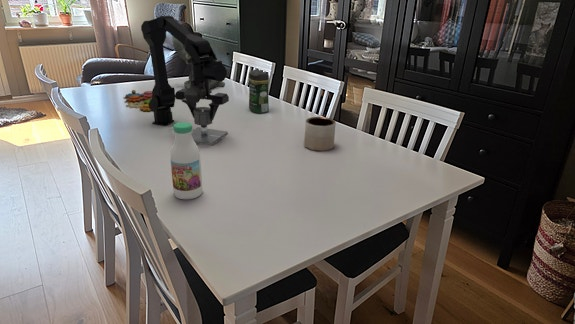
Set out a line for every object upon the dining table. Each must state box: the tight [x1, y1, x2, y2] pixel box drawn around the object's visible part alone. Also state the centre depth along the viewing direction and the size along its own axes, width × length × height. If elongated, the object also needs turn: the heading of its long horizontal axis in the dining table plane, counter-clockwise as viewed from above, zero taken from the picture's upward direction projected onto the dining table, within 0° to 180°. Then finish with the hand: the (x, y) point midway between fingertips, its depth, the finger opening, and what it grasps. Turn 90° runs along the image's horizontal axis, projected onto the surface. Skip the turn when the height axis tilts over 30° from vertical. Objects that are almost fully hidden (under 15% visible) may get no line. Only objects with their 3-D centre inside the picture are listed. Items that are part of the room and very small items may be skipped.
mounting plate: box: [192, 125, 229, 146], centre depth 144 cm, size 13×13×5 cm
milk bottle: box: [169, 121, 203, 200], centre depth 102 cm, size 8×8×20 cm
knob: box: [193, 106, 213, 126], centre depth 142 cm, size 7×7×5 cm
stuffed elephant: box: [172, 37, 226, 89], centre depth 208 cm, size 19×21×27 cm
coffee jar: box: [248, 69, 270, 114], centre depth 174 cm, size 10×8×19 cm
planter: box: [303, 116, 337, 152], centre depth 139 cm, size 11×11×10 cm
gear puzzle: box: [123, 89, 152, 112], centre depth 183 cm, size 31×16×4 cm, turn 25°
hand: (203, 119), depth 142 cm, fingers closed on knob, 7 cm apart
